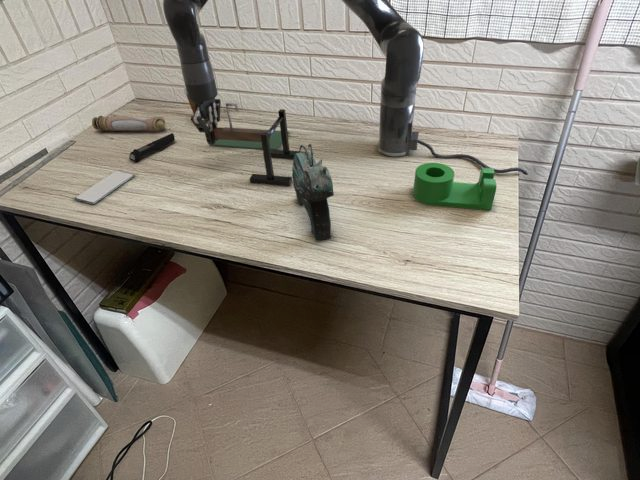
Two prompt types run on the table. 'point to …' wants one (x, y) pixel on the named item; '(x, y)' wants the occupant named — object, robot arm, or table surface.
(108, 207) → the table surface
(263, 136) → the rail stand
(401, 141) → the robot arm
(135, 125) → the tan rolled cylinder
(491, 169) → the green bracket
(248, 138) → the brown bar with hook
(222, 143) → the mat
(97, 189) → the smartphone
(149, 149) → the electric trimmer
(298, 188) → the toy ray gun
